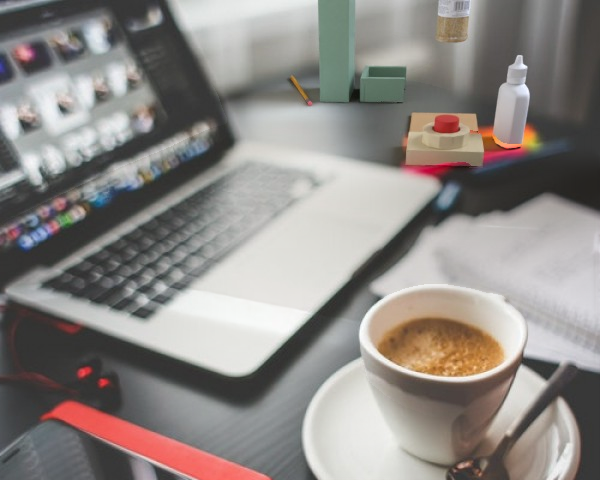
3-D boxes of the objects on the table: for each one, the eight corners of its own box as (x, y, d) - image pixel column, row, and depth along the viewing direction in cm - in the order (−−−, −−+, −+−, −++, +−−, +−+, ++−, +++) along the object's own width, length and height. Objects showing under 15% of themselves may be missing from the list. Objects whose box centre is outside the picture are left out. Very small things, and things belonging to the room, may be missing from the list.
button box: (479, 148, 88) (483, 120, 86) (482, 168, 83) (486, 138, 80) (407, 146, 90) (409, 119, 88) (405, 165, 84) (407, 136, 82)
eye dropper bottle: (524, 138, 91) (538, 51, 84) (520, 151, 87) (535, 61, 80) (493, 135, 92) (505, 50, 86) (488, 148, 88) (500, 60, 81)
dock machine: (405, 88, 114) (412, -30, 103) (403, 103, 106) (409, -21, 96) (327, 86, 116) (325, -28, 106) (319, 102, 109) (316, -20, 98)
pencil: (312, 106, 108) (312, 101, 107) (308, 106, 107) (308, 101, 107) (292, 77, 123) (292, 73, 123) (288, 77, 123) (288, 73, 122)
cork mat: (475, 117, 99) (475, 113, 99) (478, 139, 91) (479, 135, 91) (411, 116, 101) (411, 112, 101) (408, 137, 93) (409, 133, 93)
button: (457, 127, 85) (459, 114, 84) (458, 135, 83) (459, 122, 82) (433, 126, 86) (435, 114, 85) (433, 135, 83) (434, 122, 82)
